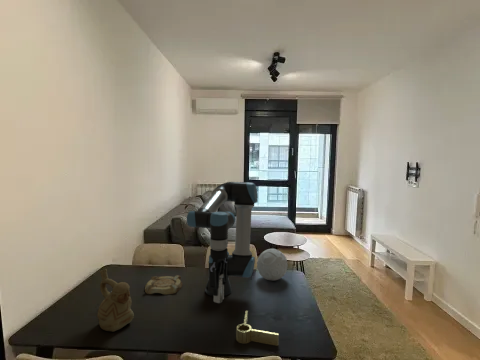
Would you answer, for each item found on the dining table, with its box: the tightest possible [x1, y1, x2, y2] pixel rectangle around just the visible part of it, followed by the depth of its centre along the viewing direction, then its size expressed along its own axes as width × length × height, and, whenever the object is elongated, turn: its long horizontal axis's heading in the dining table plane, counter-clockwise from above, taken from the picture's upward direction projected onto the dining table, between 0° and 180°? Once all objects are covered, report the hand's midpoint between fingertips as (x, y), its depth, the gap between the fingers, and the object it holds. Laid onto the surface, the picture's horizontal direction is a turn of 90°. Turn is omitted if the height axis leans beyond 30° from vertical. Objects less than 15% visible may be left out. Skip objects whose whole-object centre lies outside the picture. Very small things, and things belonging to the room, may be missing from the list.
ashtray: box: [144, 274, 183, 296], centre depth 182 cm, size 24×24×5 cm
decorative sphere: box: [256, 248, 288, 282], centre depth 195 cm, size 20×20×20 cm
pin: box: [219, 273, 224, 304], centre depth 132 cm, size 4×4×12 cm
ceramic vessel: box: [96, 268, 135, 333], centre depth 141 cm, size 17×20×25 cm
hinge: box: [235, 310, 279, 347], centre depth 134 cm, size 21×18×5 cm
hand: (218, 300), depth 132 cm, fingers closed on pin, 3 cm apart
